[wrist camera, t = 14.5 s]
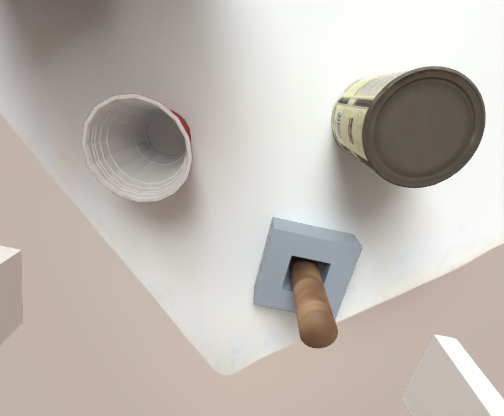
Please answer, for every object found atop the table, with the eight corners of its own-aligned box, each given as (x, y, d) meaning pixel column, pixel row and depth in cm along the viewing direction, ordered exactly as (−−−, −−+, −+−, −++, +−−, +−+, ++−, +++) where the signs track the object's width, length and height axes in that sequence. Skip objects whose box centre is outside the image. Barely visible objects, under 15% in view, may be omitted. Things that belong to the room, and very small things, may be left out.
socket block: (254, 287, 50) (253, 303, 47) (272, 217, 46) (273, 228, 43) (329, 303, 51) (334, 320, 47) (354, 234, 47) (362, 247, 43)
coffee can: (426, 130, 42) (503, 149, 29) (353, 172, 44) (394, 208, 31) (392, 55, 39) (460, 38, 26) (316, 104, 41) (342, 112, 28)
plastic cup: (127, 170, 45) (81, 197, 33) (127, 86, 41) (76, 85, 30) (206, 181, 45) (187, 212, 34) (213, 98, 41) (195, 102, 30)
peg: (286, 271, 49) (295, 344, 35) (292, 248, 48) (305, 314, 34) (311, 276, 50) (331, 351, 35) (319, 253, 48) (342, 321, 34)
